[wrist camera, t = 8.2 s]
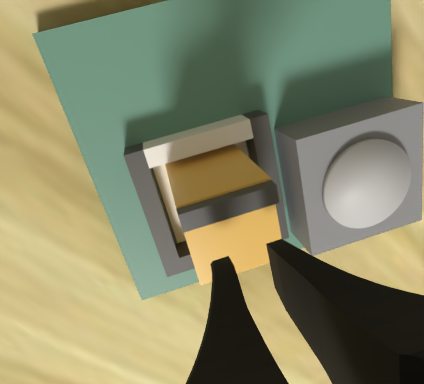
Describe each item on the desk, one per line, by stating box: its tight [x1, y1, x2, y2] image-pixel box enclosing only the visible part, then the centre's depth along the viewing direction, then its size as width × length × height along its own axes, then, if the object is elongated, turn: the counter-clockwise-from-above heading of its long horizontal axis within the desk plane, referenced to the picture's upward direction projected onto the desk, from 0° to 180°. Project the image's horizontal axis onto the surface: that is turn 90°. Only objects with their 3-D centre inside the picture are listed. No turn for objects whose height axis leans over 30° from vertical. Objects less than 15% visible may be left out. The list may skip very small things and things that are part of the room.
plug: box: [165, 144, 282, 286], centre depth 17 cm, size 4×4×7 cm
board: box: [33, 0, 423, 300], centre depth 19 cm, size 18×16×4 cm
